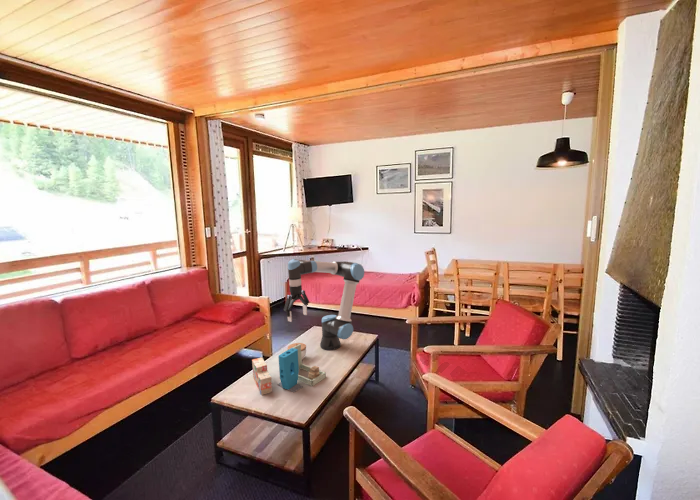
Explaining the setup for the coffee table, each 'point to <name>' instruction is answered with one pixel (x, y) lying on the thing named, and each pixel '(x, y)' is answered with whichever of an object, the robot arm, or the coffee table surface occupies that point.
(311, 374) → the offcut stack
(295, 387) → the felt mat
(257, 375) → the stack of blocks
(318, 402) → the coffee table surface
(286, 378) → the block
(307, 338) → the coffee table surface
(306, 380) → the frame
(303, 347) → the lidded bowl
